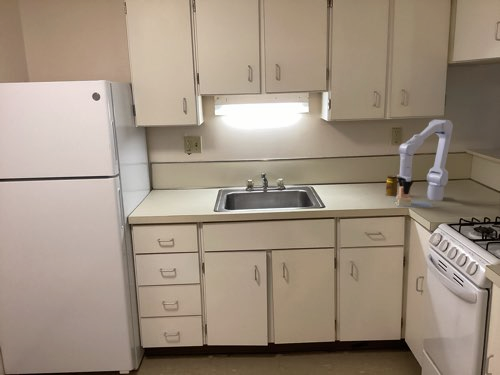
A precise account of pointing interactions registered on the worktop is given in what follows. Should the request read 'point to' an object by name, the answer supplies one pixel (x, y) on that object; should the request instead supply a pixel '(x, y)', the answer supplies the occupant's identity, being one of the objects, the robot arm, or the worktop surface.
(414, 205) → the board
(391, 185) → the condiment
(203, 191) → the worktop surface
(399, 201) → the block
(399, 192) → the terracotta block
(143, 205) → the worktop surface
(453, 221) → the worktop surface
